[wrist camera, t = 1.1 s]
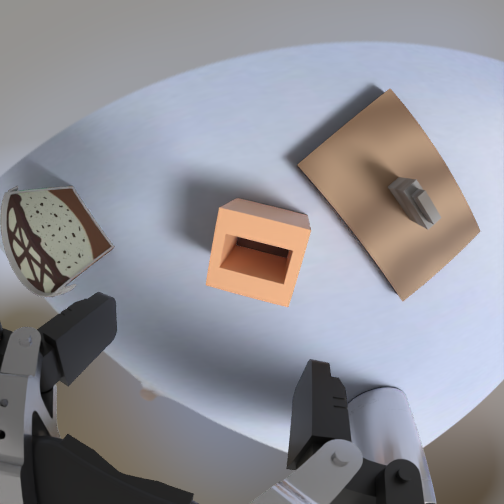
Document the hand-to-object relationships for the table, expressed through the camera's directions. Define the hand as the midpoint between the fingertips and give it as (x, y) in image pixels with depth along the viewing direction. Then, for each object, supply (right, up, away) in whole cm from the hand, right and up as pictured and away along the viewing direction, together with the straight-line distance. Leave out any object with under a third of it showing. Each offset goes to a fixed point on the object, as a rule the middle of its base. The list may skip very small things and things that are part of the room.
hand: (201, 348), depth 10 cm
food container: (-19, +6, +19) cm, 27 cm away
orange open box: (+3, +5, +15) cm, 16 cm away
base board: (+15, +9, +12) cm, 21 cm away
